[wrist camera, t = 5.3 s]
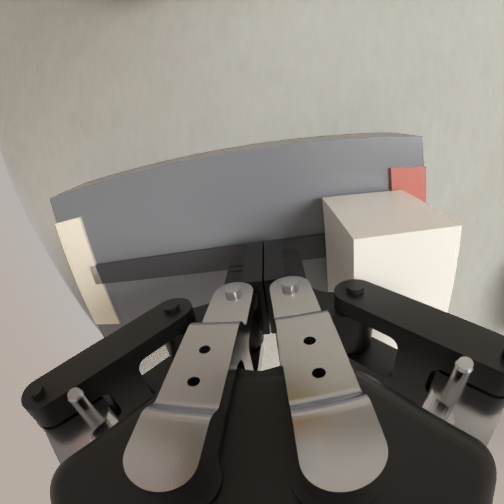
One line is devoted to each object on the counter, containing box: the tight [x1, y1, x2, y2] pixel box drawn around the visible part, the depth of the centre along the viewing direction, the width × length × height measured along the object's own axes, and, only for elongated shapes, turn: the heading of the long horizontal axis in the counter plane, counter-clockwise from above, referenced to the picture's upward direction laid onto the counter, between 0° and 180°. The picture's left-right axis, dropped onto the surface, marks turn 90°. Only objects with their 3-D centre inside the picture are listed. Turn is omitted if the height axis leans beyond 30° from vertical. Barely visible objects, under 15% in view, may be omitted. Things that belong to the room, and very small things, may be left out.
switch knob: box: [322, 190, 462, 349], centre depth 11 cm, size 4×5×5 cm
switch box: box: [50, 133, 426, 338], centre depth 16 cm, size 20×10×4 cm, turn 99°
